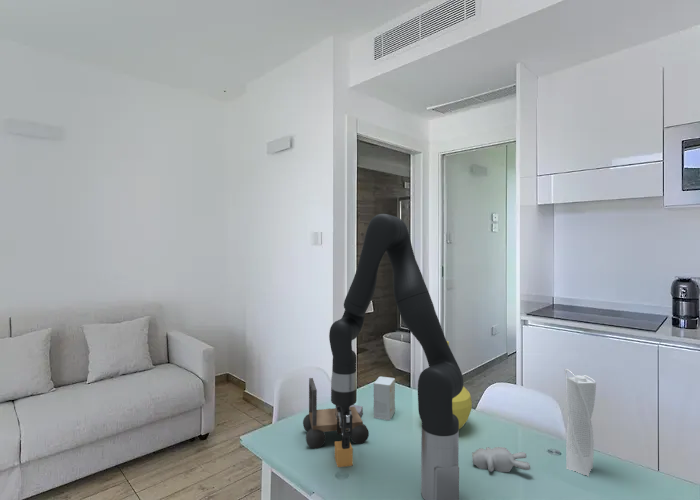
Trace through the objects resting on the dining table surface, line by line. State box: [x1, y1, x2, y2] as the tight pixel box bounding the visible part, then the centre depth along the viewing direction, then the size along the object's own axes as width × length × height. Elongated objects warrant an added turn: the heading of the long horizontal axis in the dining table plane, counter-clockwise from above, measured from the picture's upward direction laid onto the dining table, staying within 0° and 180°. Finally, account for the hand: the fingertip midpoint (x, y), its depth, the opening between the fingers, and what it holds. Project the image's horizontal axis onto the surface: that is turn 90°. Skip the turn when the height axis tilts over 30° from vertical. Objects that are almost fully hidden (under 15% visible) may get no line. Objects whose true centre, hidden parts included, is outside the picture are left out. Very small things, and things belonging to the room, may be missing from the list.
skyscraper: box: [564, 368, 597, 478], centre depth 112 cm, size 8×8×28 cm
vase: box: [446, 340, 473, 430], centre depth 137 cm, size 18×18×30 cm
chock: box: [334, 440, 354, 468], centre depth 115 cm, size 5×4×5 cm
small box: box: [373, 376, 396, 421], centre depth 147 cm, size 8×6×13 cm
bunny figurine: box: [471, 446, 531, 473], centre depth 112 cm, size 10×5×15 cm
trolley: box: [302, 377, 370, 449], centre depth 129 cm, size 20×12×18 cm, turn 102°
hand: (342, 440), depth 115 cm, fingers open, 8 cm apart
